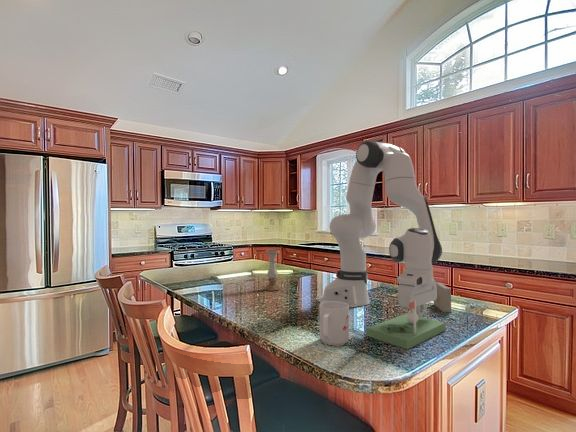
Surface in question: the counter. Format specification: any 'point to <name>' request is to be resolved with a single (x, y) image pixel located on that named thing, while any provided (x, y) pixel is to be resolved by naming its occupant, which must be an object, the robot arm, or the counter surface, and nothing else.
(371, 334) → the green
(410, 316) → the ball
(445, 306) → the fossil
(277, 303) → the counter surface
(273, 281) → the candle holder
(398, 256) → the robot arm
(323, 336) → the mug
